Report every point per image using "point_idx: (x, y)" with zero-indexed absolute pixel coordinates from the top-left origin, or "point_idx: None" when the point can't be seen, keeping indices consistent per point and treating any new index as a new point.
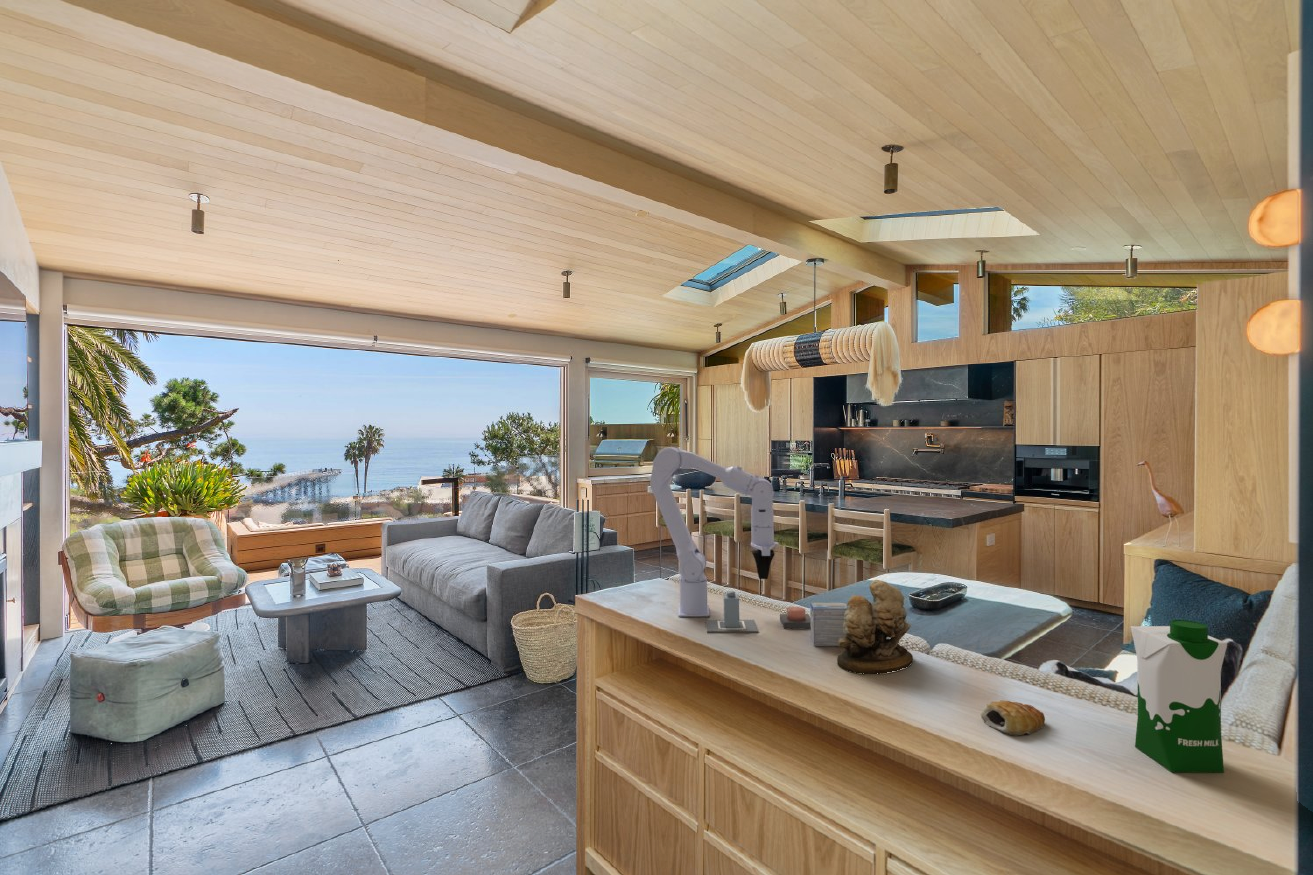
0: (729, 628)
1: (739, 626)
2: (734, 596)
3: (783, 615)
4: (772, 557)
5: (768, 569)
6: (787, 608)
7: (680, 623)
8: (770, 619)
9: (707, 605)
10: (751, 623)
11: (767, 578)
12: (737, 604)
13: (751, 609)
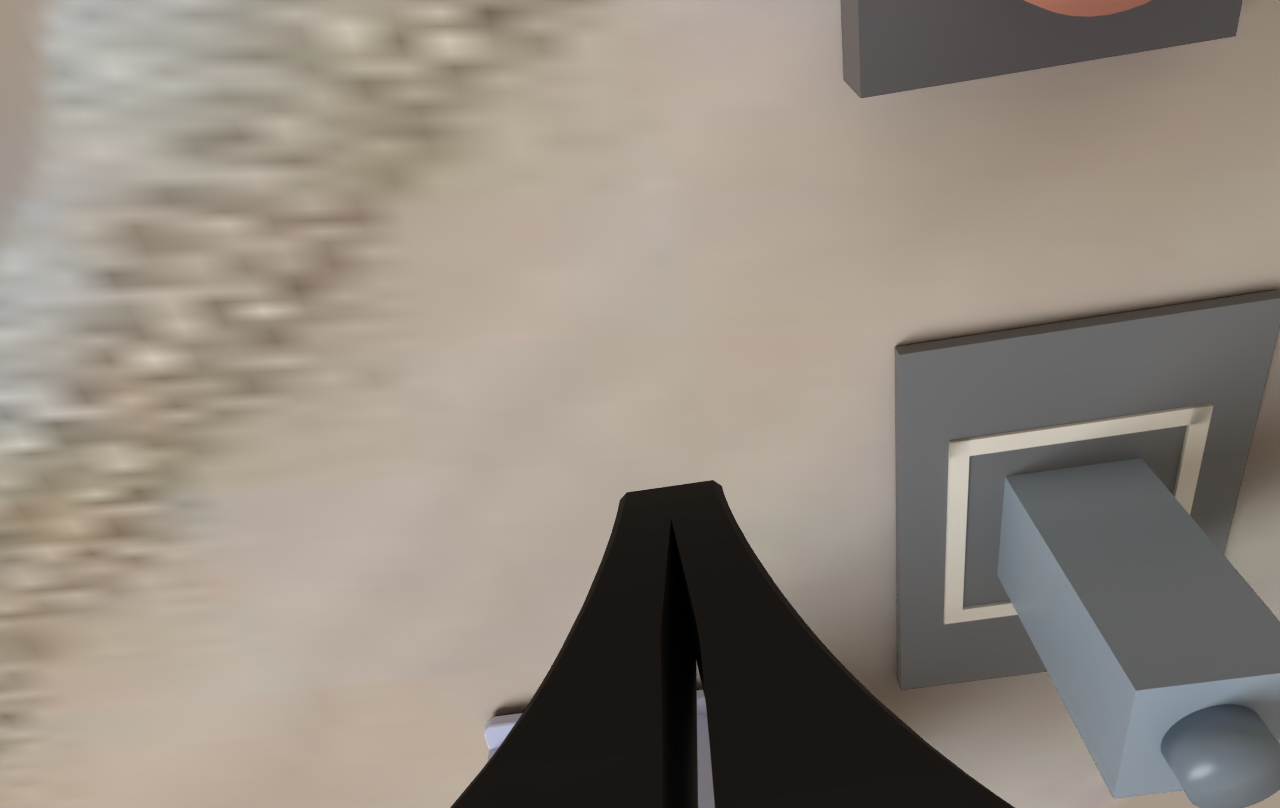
0: None
1: (1110, 459)
2: (1255, 715)
3: (927, 47)
4: (993, 804)
5: (778, 594)
6: (1064, 8)
7: None
8: (820, 189)
9: (506, 729)
10: (1026, 370)
11: (716, 483)
12: (1267, 625)
13: (466, 397)
